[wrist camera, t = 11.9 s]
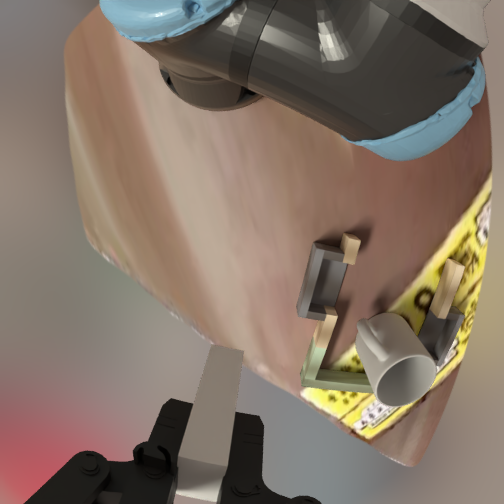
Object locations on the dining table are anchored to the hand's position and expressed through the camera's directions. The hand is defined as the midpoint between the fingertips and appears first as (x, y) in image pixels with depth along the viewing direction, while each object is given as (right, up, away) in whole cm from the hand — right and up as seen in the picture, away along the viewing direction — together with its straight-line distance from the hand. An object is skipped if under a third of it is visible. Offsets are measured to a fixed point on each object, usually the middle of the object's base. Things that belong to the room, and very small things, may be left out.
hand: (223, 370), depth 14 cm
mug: (+19, -6, +28) cm, 35 cm away
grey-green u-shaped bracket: (+19, -4, +28) cm, 34 cm away
